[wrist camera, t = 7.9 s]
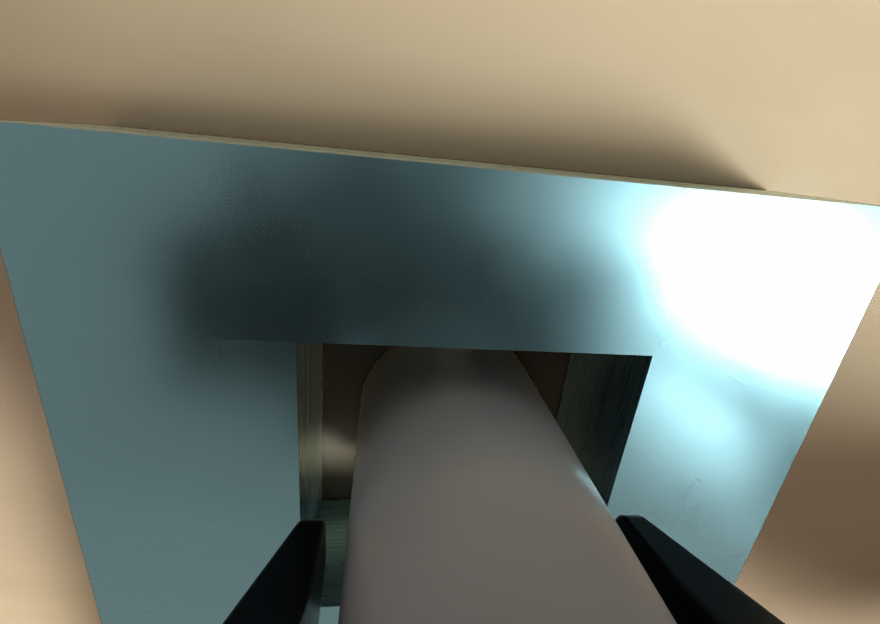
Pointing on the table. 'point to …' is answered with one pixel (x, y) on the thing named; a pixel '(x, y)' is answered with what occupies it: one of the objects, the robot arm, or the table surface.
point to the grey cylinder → (478, 505)
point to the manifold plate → (398, 334)
